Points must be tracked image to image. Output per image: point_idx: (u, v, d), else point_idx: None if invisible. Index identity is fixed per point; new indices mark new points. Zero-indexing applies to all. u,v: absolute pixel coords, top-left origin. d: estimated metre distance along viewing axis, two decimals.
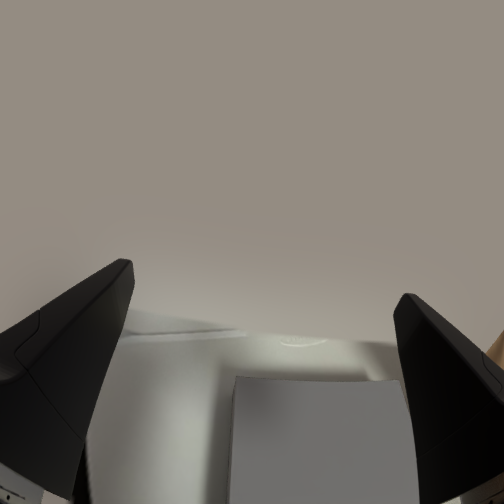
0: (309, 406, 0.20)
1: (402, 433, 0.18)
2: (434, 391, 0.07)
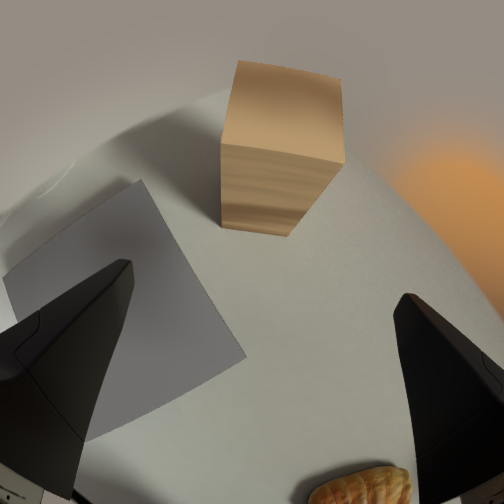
0: (57, 269, 0.18)
1: (160, 250, 0.19)
2: (434, 391, 0.07)
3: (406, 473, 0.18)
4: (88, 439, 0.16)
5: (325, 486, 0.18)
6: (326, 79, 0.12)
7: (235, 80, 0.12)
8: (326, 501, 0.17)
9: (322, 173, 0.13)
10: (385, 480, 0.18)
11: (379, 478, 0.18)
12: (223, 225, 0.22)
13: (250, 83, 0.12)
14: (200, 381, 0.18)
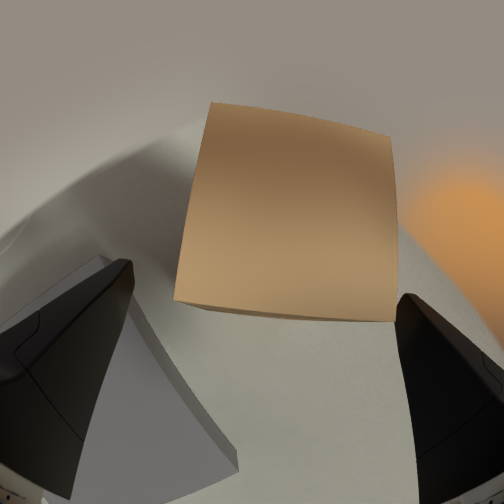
0: None
1: (127, 353, 0.14)
2: (434, 391, 0.07)
3: None
4: None
5: None
6: (369, 139, 0.07)
7: (203, 148, 0.07)
8: None
9: (353, 320, 0.07)
10: None
11: None
12: None
13: (231, 154, 0.07)
14: (187, 492, 0.12)
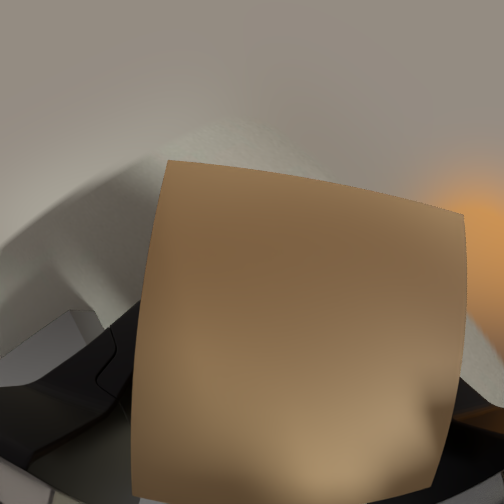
0: None
1: None
2: None
3: None
4: None
5: None
6: (436, 223, 0.04)
7: (151, 262, 0.04)
8: None
9: None
10: None
11: None
12: None
13: (203, 274, 0.04)
14: None
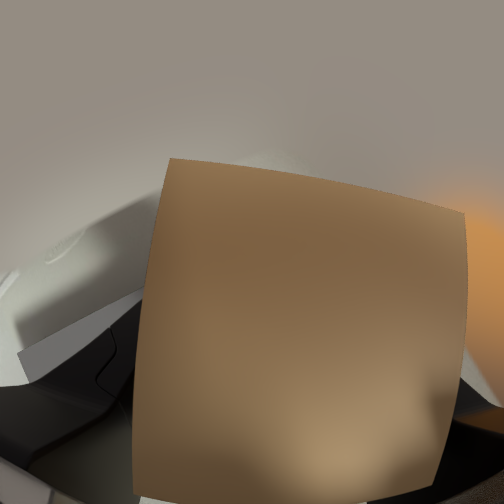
0: None
1: None
2: None
3: None
4: None
5: None
6: (437, 222, 0.04)
7: (153, 260, 0.04)
8: None
9: None
10: None
11: None
12: None
13: (205, 272, 0.04)
14: None
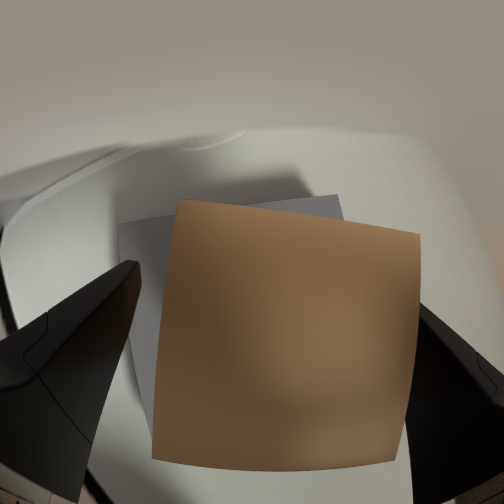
0: None
1: None
2: (428, 392, 0.07)
3: None
4: None
5: None
6: (393, 243, 0.06)
7: (170, 278, 0.05)
8: None
9: None
10: None
11: None
12: None
13: (208, 286, 0.05)
14: None
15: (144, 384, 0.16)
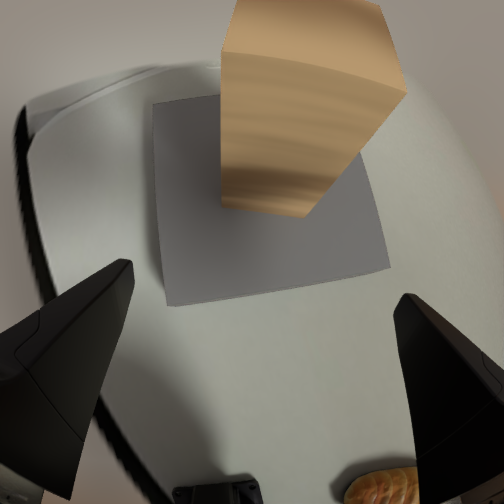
0: None
1: None
2: (434, 391, 0.07)
3: None
4: (178, 302, 0.17)
5: (369, 476, 0.17)
6: (362, 2, 0.07)
7: None
8: (368, 492, 0.16)
9: (372, 109, 0.08)
10: None
11: None
12: (223, 203, 0.17)
13: None
14: (345, 273, 0.18)
15: (165, 231, 0.17)
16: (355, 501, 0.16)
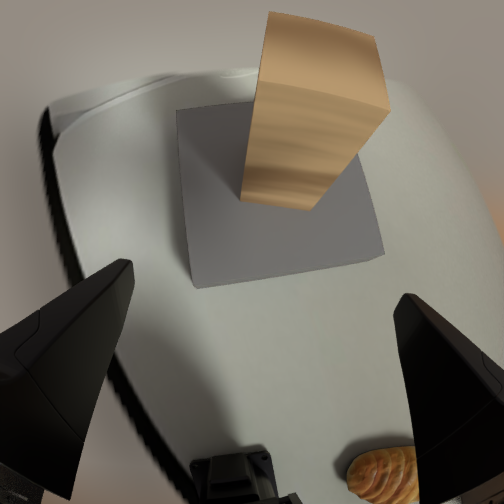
0: (246, 124, 0.22)
1: None
2: (434, 391, 0.07)
3: None
4: (202, 282, 0.20)
5: (369, 454, 0.20)
6: (360, 35, 0.10)
7: (268, 27, 0.10)
8: (369, 468, 0.19)
9: (365, 123, 0.11)
10: None
11: (415, 454, 0.19)
12: (242, 197, 0.20)
13: (284, 30, 0.10)
14: (345, 258, 0.21)
15: (190, 221, 0.20)
16: (357, 477, 0.19)
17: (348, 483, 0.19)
